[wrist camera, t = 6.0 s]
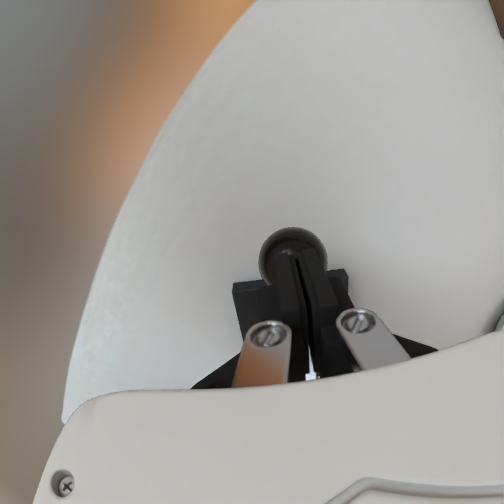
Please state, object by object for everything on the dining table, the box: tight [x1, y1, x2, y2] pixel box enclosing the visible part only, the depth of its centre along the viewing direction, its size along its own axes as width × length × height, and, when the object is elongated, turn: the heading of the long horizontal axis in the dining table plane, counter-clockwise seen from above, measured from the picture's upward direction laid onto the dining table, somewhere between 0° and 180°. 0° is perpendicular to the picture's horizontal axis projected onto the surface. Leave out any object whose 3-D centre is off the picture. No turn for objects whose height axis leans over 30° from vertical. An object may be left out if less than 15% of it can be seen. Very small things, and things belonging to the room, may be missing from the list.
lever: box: [258, 227, 328, 380], centre depth 13 cm, size 13×3×3 cm, turn 9°
